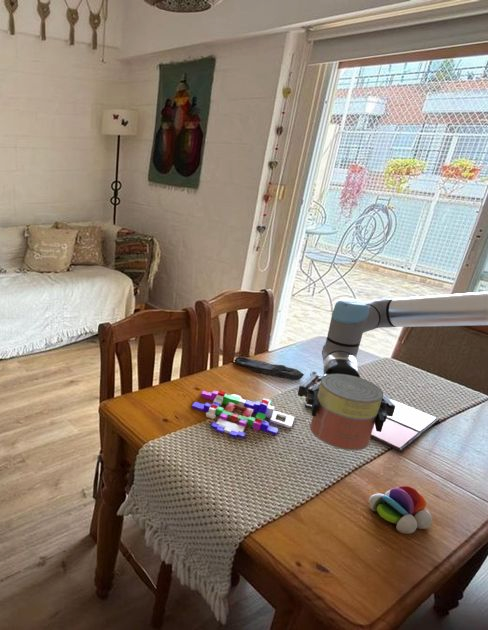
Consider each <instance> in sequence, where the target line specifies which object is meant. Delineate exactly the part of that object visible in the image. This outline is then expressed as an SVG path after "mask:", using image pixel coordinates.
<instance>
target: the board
mask: <svg viewBox="0 0 488 630" xmlns="http://www.w3.org/2000/svg"><path fill="white" fill-rule="evenodd" d="M387 398H388V399H389V400H390V401H391V402H392V403H393V404H394V405H395V406H396V407H395V410H394V413H393V416H387V419H386V421H385V422H384V424H383V427H382V430H381V432H378V431H376V427H375V423H374V427H373V430H372V433H371V437H370V439H372V440H374V441H377V442H379V443H380V444H383V445H385V446H387V447H388V448H390V449H393V450H395V451H397V452H400V453H401V452H402V451H404V450H405V449H406V448H407V447H409V446H410V445H411V444H412V443H414V442H415V441H416V440H417V439H418V438H419V437H421V436H422V435H424V433H426V432H427V431H428V430H429V429H430V428H432V427H434V425H435V424H436V423H438V422H439V421H440V418H439V417H436V416H434V415H431V414H429V413H427V412H424V411H421V410H419V409H417V408H414V407H413V406H409V405H406V404H405V403H403V402H399V401H397V400H394V399H392V398H389V397H387ZM304 406H305V407H306V408H308V409H310V410H312V405H309V404H307V403H306V404H305V405H304Z"/></svg>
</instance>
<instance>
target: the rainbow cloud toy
mask: <svg viewBox="0 0 488 630" xmlns="http://www.w3.org/2000/svg"><path fill="white" fill-rule="evenodd" d="M368 505H369V507H370V510H371V511H373V512H377V513H378V515H379V516H380V517H381V518H382V519H384V520H385V521H387V522H388V523H391V524H395V525H396V526H395V527H396V528H395V529H396V531H397V532H399V533H401V534H406V535H411V534H412V533H413V534H414V532H415V531H416V530H417V529H420V530H426V529H428V528H430V527H431V526H432V525H433V522H434V521H433V516H432V514H431V513H430V512H429V511H428V510H427V509H426V505H427V502H426V499H425V497H424V496H423V495H422V494H421V493H419V491H418V490H417V489H415V488H414V487H412V486H410V485H401V486H399V487H393V488H391V489H388V490H387V491H386V492H385V493H384V494H383V493H373V494H372V495H370V497H369V499H368Z"/></svg>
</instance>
